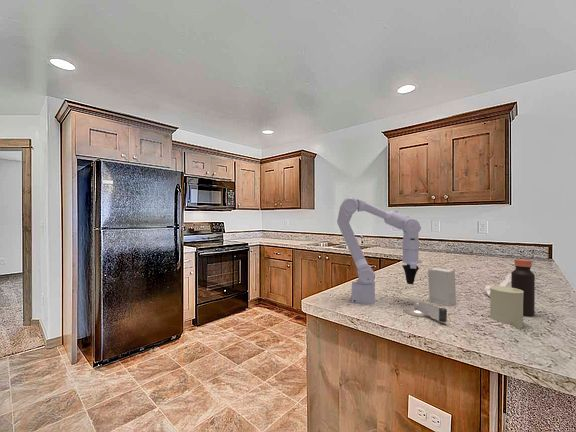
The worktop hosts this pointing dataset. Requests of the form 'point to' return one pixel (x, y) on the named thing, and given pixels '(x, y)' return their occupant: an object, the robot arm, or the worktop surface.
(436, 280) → the skincare box
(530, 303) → the bottle
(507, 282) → the plastic part
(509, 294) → the can
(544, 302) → the worktop surface
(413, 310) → the crank handle
